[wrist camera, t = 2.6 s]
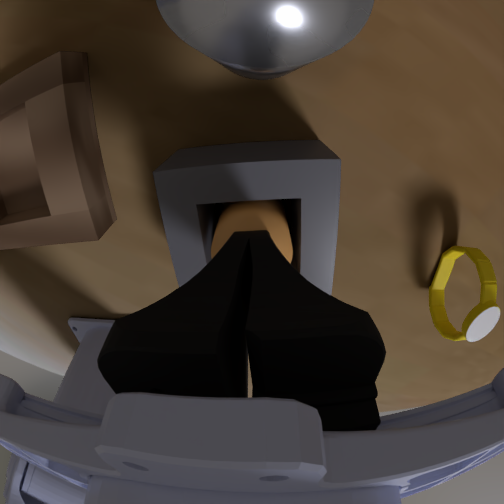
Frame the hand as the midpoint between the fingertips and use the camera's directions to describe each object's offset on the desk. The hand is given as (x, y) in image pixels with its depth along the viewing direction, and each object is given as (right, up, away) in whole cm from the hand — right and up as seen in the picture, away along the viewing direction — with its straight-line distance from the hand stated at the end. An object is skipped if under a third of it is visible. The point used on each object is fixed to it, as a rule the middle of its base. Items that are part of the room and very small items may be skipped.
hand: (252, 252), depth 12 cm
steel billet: (0, +10, -1) cm, 10 cm away
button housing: (0, +2, +4) cm, 4 cm away
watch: (+13, -1, +6) cm, 15 cm away
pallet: (-20, +6, +2) cm, 21 cm away
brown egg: (0, +2, +3) cm, 3 cm away
